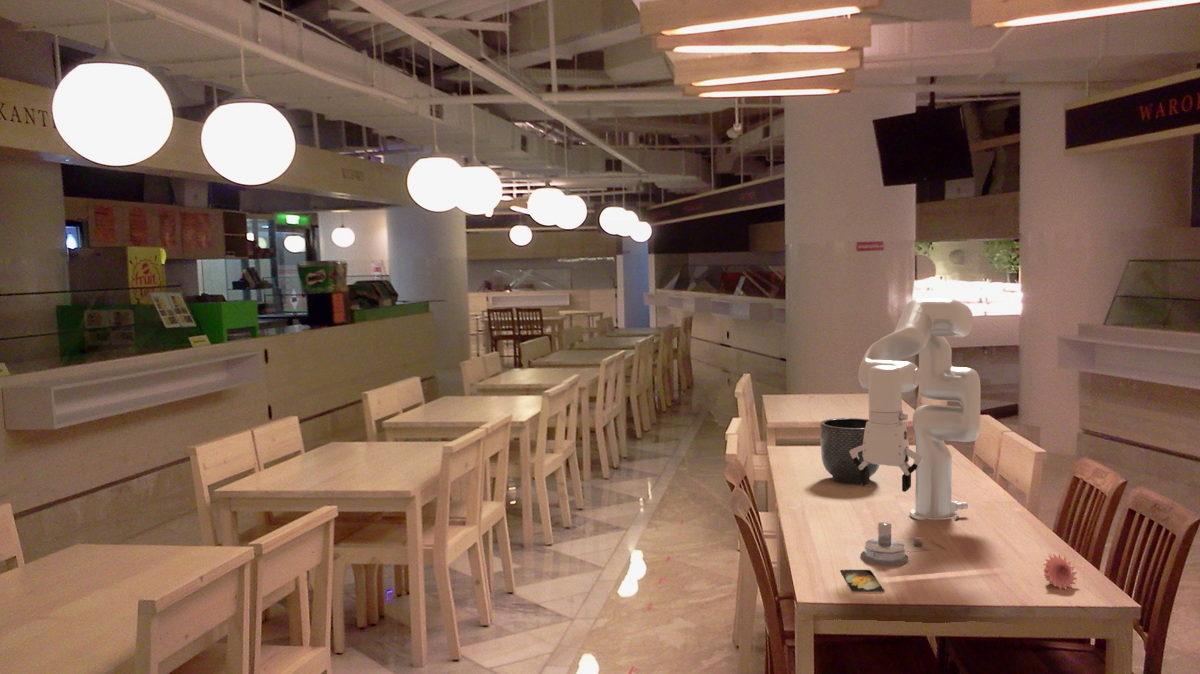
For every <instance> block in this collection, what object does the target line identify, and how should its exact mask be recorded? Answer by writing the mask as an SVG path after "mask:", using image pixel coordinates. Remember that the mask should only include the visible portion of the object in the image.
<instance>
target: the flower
mask: <svg viewBox="0 0 1200 674" xmlns="http://www.w3.org/2000/svg"><path fill="white" fill-rule="evenodd" d="M1052 555H1053V556H1050V555H1048V558H1049V559H1048V558H1047V559H1046V558H1044V560H1045V561H1046V563H1043V567H1044V568H1043V576H1044V579H1045V580H1046V581H1047V582H1048V583H1049V584H1050V585H1053V586H1054V587H1058V588H1059V589H1060V590H1063V589H1064V588H1067V589H1068V588H1071V589H1072V588H1073V586H1072V585H1076V582H1074V581H1076V580H1078V578H1077V577H1075V575H1076V574H1077V571H1073V570H1074V569H1075V566H1074V565H1073V566H1071V560H1069V561H1067V558H1066V556H1064V557H1062V556H1061V554H1059V553H1058V556H1057V555H1055V553H1053V554H1052Z"/></svg>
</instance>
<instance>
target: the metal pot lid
mask: <svg viewBox="0 0 1200 674" xmlns="http://www.w3.org/2000/svg"><path fill="white" fill-rule="evenodd" d="M860 559H861V560H862V561H863V562H865V563H869V564H872V565H876V566H881V567H884V566H886V567H887V566H888V567H895V566H896V567H897V566H901V565H906V564H908V562H909V556H908V555H907V554H906V553H905V558H904V559H903V560H902V561H896V562H881V561H875V560H872V559H869V558H867V557H866V556H865V550H863V551H861V553H860Z"/></svg>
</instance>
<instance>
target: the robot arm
mask: <svg viewBox="0 0 1200 674" xmlns="http://www.w3.org/2000/svg"><path fill="white" fill-rule="evenodd" d="M973 326H974V317H973V312H972V310H971V308H969V307H968V305H966V304H965V303H962V302H961V301H959V300H955V299H951V298H915V299H913V300H911V301H909V302H908V303H907V304H906V305H905V306H904V308H903V311H902V313H901V315H900V317H899V319H898V323H897V324H896V326H895V329H894V331H893V332H891V333H889V334H887V335H885V336H883V337H882V338H880V339H878V340H876V341H875V342H874V343H872V344H871V345H870V346H869V348H867V350H866V351H865V353H864V356H863V358H862V360H861V361H860V365H859V368H858V372H857V373H858V374H857V375H858V377H857V378H858V382H859V384H860V386H861V387H862V388H863V389H865V390H868V420H869V421H867V422H866V426H865V432H864V439H863V445H861V446H858V447H856V448H854V449H851V450H850V451H849V452H850V455H851V457H852V458H853V461H854V463H855V464H856V465H857V466H858V468H859V469H860V481H861V482H862V484H861V487H867V486H868V485H870V478H869V468H868V465H869V464H878V465H879V466H887V467H899V468H900V470H901V471H902V473H903V475H902V476H901V491H902V492H904V493H906V492H907V491H908V490H910V488H911V486H912V473H913V472H915V501H914V502H915V505H914V506H915V507H913V508H911V509H910V510H909V516H910V517H912V519H915V520H919V521H926V520H935V521H938V520H939V521H940V520H941V521H943V520H953V521H956V520H957V519H958V513H957V512H956V511H958V510H968V508H969V505H968V503H967V502H966V501H964V502H959V501H957V500H956V501H955V500H952V491H953V490H952V488H953V486H952V483H953V481H952V479H953V478H952V477H953V475H952V474H953V467H952V465H953V456H952V453H951V450H950V449H949V447H948V445H947V444H946V443H945V442H944V441H952V442H961V443H962V442H963V443H971V442H974V441H976V440H977V439H978V437H979V435H980V432H981V431H980V429H981V395H982V394H981V392H982V391H981V389H982V388H981V378H980V376H979V373H978V371H976V370H975V369H973V368H970V367H964V366H961V367H960V366H953V364H952V351H953V350H952V346H951V344H950V343H949V341H948V340H947V338H946V337H948V338H950V337H951V338H965V337H967V336H968V335H969V334H970V333H971V332H972V329H973ZM917 355H918V362H919V363H918V365H916V364H915V363H914V362H910V361H907V360H906V361H905V360H904V361H903V359H907V358H910V357H913V356H917ZM917 387H918V391H919V394H920V396H921V397H922V398H924V399H926V400H932V401H941V402H957V403H959V404H960V406H955V405H943V404H942V405H941V404H924V405H920V406H918V407H917V408H916V409H914V412H913V414H912V427H913V433H914V439H915V440H914V441H915V451H914V450H912V449H910V444H909V436H908V435H909V434H908V429H907V425H906V422H903V421H908V418H909V415H908V414H907V413H904V412H903V410H902V409H903V400H902V399H903V396H902V395H903V393H910V392H912V391H914V390H915V389H916V388H917ZM860 451H863V460H864V461H862V460H861V458H860V457H859V456H858V452H860ZM910 458H911V459H913V463H912V464H911V465H910V464H909V463H908V462H909V461H910Z"/></svg>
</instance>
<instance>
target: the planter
mask: <svg viewBox="0 0 1200 674" xmlns="http://www.w3.org/2000/svg"><path fill="white" fill-rule="evenodd" d="M867 421H869V418H868V419H867V418H857V417H855V418H854V417H840V418H838V417H837V418H829V419H825V420H822V421H820V424H819V430H820V431H819V432H820V434H819V437H820V439H819V440H820V452H821V453H820V454H821V455H820V456H821V461H822V465H823V467H824V469H825V471H827V473H829V475H831V477H832V478H833V480H834V481H835V482H837V483H839V484H845V485H862V482H861V481H860V469H859V468H858V466H857V465H856V464H855V463H854V461H853V458H852V457H851V455H850V452H849V451H850V450H851V449H854V448H856V447H858V446H861V445H863V439H864V432H865V426H866V422H867ZM858 456H859V457H860V458H861V460H862V461H864V460H863V451H860V452H858ZM879 467H880V465H878V464H869V465H868V468H869V479H870V478H871V477H872V476H873V475H875V474H876V473H877V471H878V470H879Z"/></svg>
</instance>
